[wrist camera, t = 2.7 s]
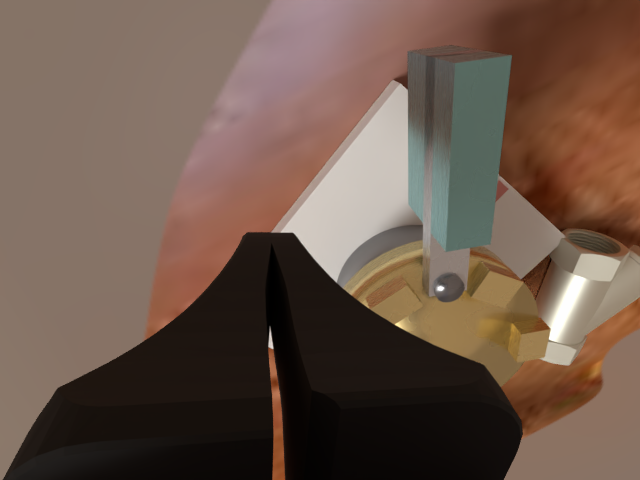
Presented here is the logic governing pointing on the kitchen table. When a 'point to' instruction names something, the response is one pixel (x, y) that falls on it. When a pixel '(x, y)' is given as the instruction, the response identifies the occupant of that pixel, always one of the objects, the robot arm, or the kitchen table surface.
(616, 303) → the pipe fitting
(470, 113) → the gold gear
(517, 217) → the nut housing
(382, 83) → the kitchen table surface
